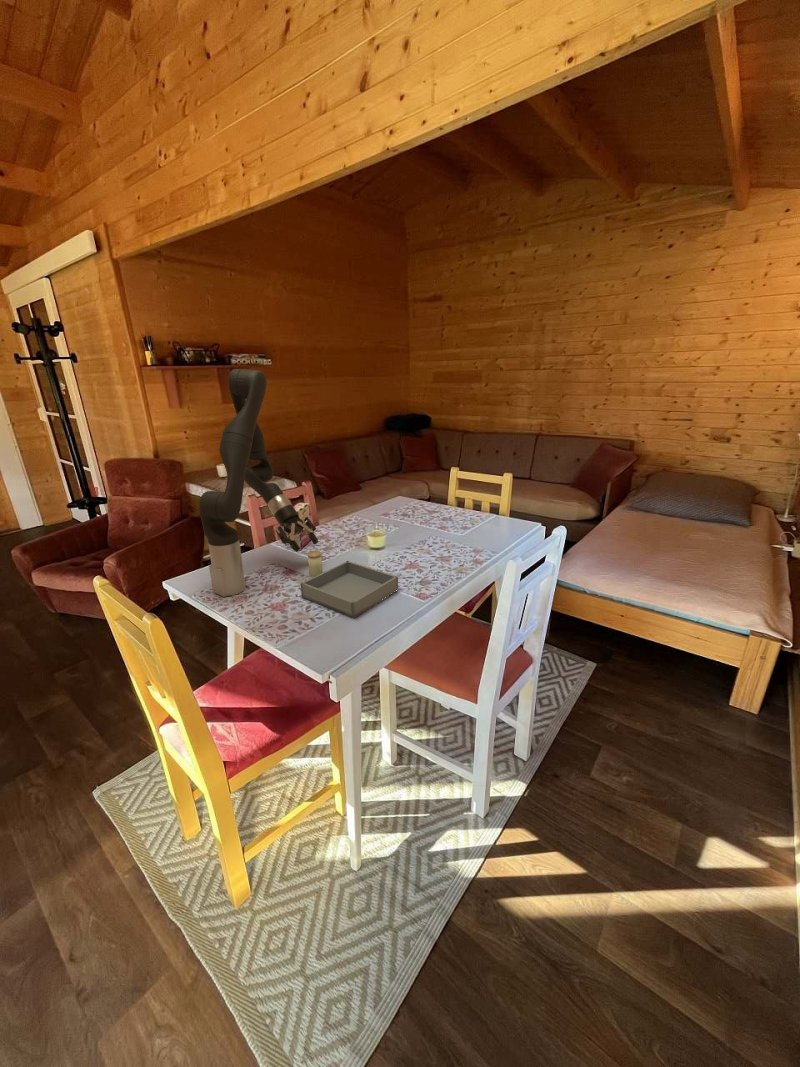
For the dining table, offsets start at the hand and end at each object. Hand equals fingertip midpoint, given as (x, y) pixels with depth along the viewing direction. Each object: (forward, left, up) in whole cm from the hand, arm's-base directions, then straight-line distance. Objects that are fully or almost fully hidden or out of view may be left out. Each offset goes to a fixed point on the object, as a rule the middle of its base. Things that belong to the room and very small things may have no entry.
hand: (307, 546), depth 158 cm
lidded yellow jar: (0, -3, -10) cm, 10 cm away
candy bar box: (+17, +23, -10) cm, 30 cm away
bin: (-4, -23, -10) cm, 26 cm away
